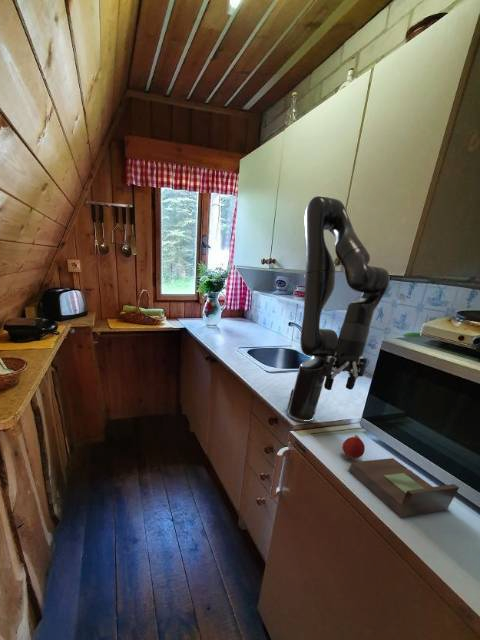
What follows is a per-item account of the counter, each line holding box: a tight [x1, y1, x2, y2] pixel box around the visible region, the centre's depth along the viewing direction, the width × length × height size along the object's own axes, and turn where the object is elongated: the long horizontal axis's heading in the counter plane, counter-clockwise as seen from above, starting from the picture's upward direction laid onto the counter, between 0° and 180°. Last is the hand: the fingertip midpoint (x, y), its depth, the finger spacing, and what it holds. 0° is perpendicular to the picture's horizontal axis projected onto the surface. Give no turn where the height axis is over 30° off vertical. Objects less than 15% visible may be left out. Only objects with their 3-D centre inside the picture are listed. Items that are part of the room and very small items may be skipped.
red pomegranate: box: [342, 434, 366, 460], centre depth 90 cm, size 6×6×8 cm
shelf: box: [348, 457, 460, 518], centre depth 79 cm, size 17×15×7 cm
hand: (338, 389), depth 96 cm, fingers open, 8 cm apart
